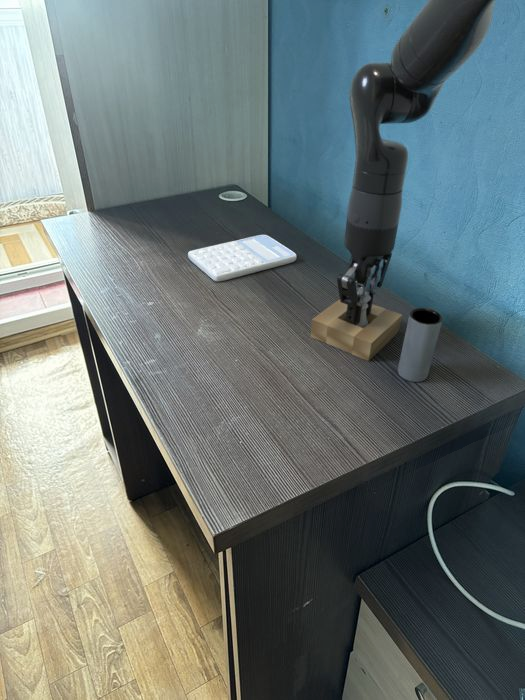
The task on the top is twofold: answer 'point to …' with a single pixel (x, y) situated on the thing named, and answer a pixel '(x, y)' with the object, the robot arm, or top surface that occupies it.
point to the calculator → (241, 257)
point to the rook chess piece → (364, 310)
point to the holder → (356, 330)
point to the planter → (419, 344)
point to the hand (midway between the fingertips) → (358, 317)
